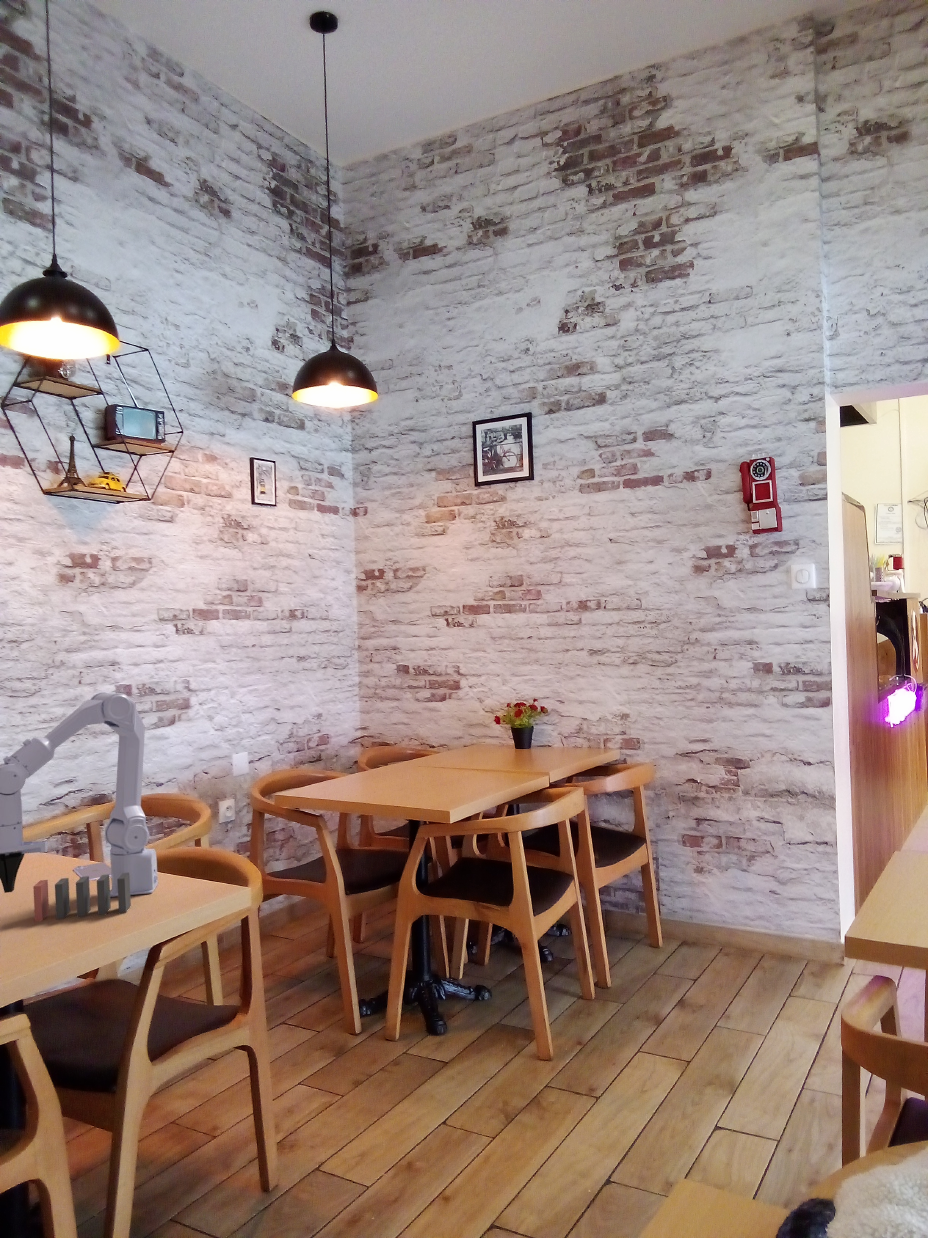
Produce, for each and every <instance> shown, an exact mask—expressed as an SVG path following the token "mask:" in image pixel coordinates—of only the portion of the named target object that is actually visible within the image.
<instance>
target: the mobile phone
mask: <svg viewBox="0 0 928 1238" xmlns="http://www.w3.org/2000/svg"><path fill="white" fill-rule="evenodd" d="M73 871H74V872H75V874H76V875H78V876H79V877H80V878H81V877H85V876H89V882H92V881H91V880H94V881H97V880H96V879H99V878H100V877H101V876H102V875H108V874H109V877H110V878H111V865H108V864H107V863H106V862H103V861H102V862H97V863H91V864H84V865H78V866H75V867H73Z"/></svg>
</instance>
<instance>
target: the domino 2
mask: <svg viewBox="0 0 928 1238" xmlns="http://www.w3.org/2000/svg"><path fill="white" fill-rule="evenodd" d="M90 892H91V891H90V881H89V876H85V877H80V878H79V879H78V880H77V881H76V882H75V893H76V894H75V895H76V916H77V918H85V917H86V916H87V915H88V913H89V912H90V911H91V895H90V894H91V893H90Z"/></svg>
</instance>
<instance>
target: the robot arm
mask: <svg viewBox="0 0 928 1238" xmlns="http://www.w3.org/2000/svg"><path fill="white" fill-rule="evenodd" d="M98 724H104V725H107V726H108V727H109V728H110V729H112V730H113V732H115V733H116V734H117V735H118V750H117V751H118V752H117V767H116V769H117V770H116V783H115V784H116V785H115V802H114V803H115V805H114V807H113V809H112V810H111V812H110V814H109V821H108V823H107V826H106V827H105V830H104V838H105V840H106V842H107V843H108V844H109V845H110V850H109V853H110V854H109V855H110V860H109V861H110V867H111V877H110V878H111V879H110V880H111V888H110V898H111V897H112V898H113V897H118V883H117V879H118V878H119V877H120V875H121V874H122V873H129V876H130V896H133V895H142V894H143V895H144V894H152V893H153V892H154V891H155V889H156V887H157V886H158V884H159V880H158V861H157V860H158V859H157V852H156V849H155V848H146V845H147V843H148V842H149V839H150V831H149V828H148V827H147V817H146V815H145V812H144V810H143V808H142V806H141V805H142V791H143V789H142V787H143V770H144V755H145V754H144V751H145V734H146V733H145V731H146V728H145V724H144V722H143V719H142V718H141V716H140V714H139V711H138V710H137V702H135V701H134V700H133V699H131V698H130V697H129V696H128V695H126V694H124V693H121V692H118V693H110V692H109V693H107V692H98V693H96V694H93V696H92V697H91V698H90V699H87V700H86V701H84V702H82V704H80V705H79V706H78V707H77V708H76V709H75V710H74V711H73V712H72V713H70V714H69V715H68V716H67V717H66V718H64V719H63V720H62V721H61V722H59V724H57V725H56V726H55V727H53V729H51V731H49V732H48V733H47V734H46V735H45V736H44V737H38V736H37V737H33V738H32V739H28V738H27V739H25V740H24V741H23V742H22V745H23V746H22V747H20V748H19V749H18V750H16V751H15V752H14V753H13V754H10V756H8V755H6V756H5V757H4V758H3V759H2V760H3V763H0V882H1V885H2V888H3V892H4V894H5V893H13V891H14V890H15V884H16V879H17V875H18V872H19V869H20V866H21V864H22V861H23V860H24V857H25V854H35V853H40V854H41V853H47V851H48V849H49V846H48V840H43V841H42V840H41V841H39V840H37V841H24V833H23V830H24V829H23V811H22V810H23V806H22V804H23V803H22V792H21V791H22V789H23V788H24V786H25V784H26V780H27V779H29V778H30V777H31V776H33V775H34V774H35V773H36V772H37V771H39V770H40V769H41V768H42V767H44V766H45V765H46V764H48V763H49V762H50V761H51V760H53V759H54V756H55V751H56V749H57V748H59V747H60V746H61V745H62V744H64V743H65V742H66V741H68V740H69V739H70V738H72V737H73V736H74V735H76V734H77V733H79V732H80V731H81V730H83V729H84V728H85V727H87V726H92V725H98Z"/></svg>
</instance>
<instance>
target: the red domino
mask: <svg viewBox="0 0 928 1238" xmlns="http://www.w3.org/2000/svg"><path fill="white" fill-rule="evenodd" d="M48 881H49V880H48V879H42V880H39V881H38V882H37V883H35V885H33V886H32V887H33V908H34V911H33V912H34V922H43V921H44V920H45V918H47V917H48V916H49V914H50V900H49V882H48Z"/></svg>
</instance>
